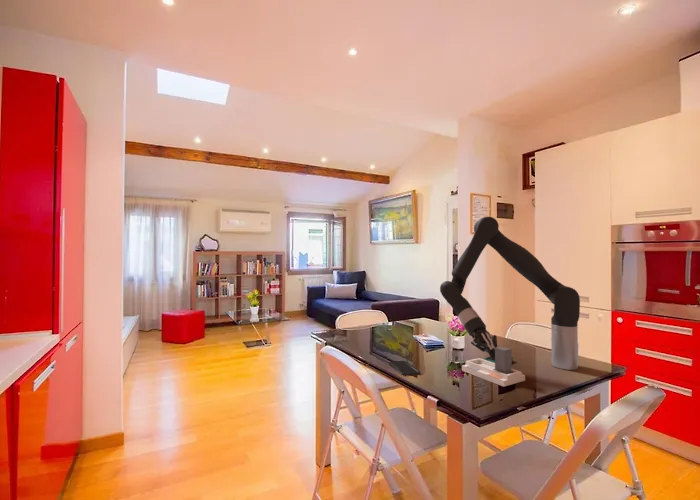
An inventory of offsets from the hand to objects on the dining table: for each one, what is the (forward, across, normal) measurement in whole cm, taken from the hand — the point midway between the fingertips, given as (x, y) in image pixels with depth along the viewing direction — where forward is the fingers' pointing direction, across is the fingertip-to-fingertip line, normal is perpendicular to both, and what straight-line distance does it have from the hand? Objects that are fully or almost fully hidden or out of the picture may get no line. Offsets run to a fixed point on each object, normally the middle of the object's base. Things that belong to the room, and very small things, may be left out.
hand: (497, 359), depth 129 cm
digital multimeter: (-3, +15, +13) cm, 20 cm away
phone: (-12, -25, +23) cm, 36 cm away
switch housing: (+3, 0, +6) cm, 7 cm away
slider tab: (+5, 0, +1) cm, 5 cm away
